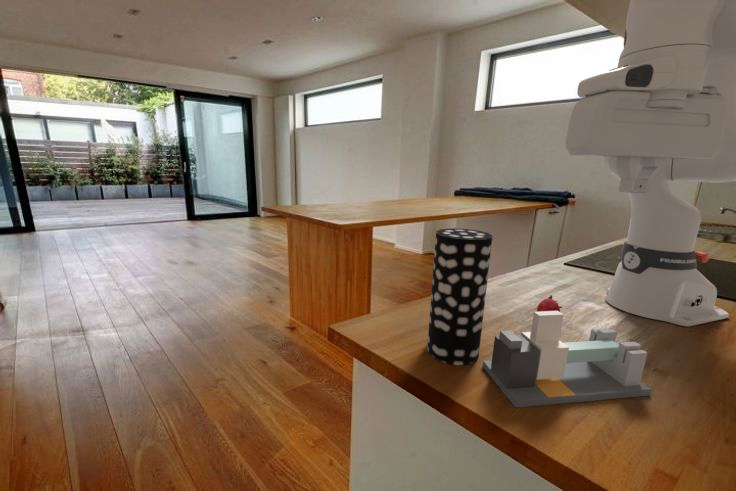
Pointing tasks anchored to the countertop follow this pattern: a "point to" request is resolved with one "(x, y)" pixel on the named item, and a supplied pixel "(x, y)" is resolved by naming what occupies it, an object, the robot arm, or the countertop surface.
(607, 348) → the pale teal rod
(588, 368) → the board
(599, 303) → the countertop surface
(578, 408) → the countertop surface
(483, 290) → the white-spotted black cylinder
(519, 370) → the block
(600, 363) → the gray notched block
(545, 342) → the sleeve
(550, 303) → the fruit
